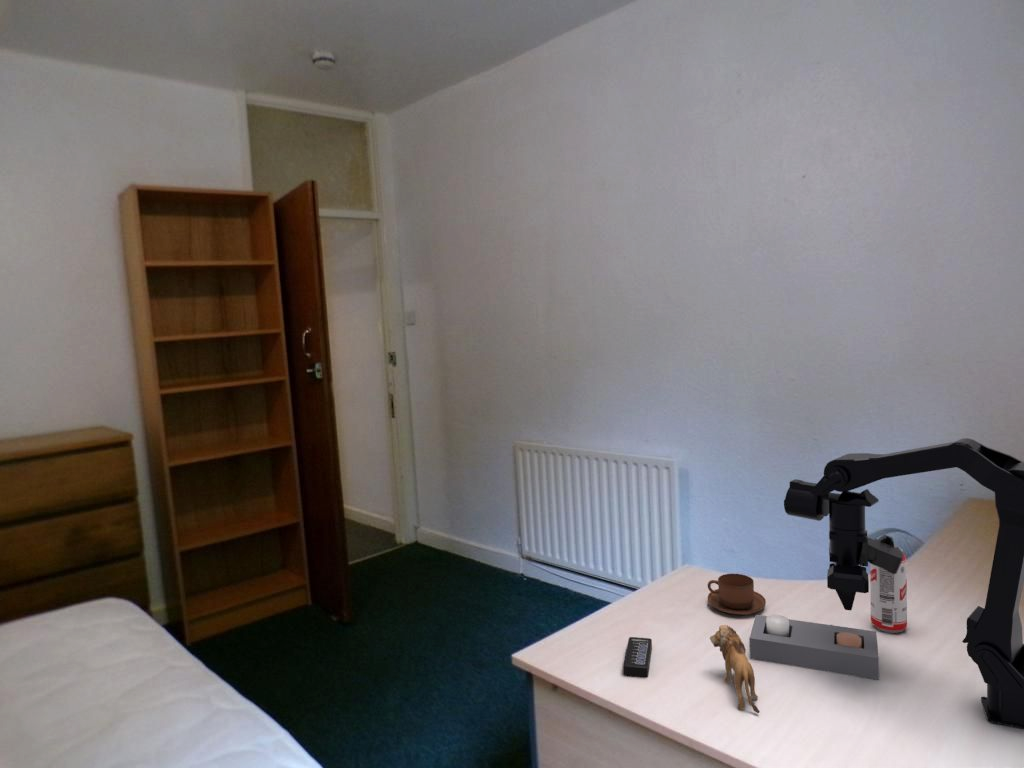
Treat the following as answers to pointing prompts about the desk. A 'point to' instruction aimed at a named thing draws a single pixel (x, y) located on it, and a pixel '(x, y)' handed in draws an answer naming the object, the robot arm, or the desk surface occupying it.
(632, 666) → the multiport hub
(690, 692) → the desk surface
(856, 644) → the terracotta plug
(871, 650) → the plug block
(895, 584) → the beer can
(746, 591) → the cup and saucer
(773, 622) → the grey piece
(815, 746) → the desk surface
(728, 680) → the lion figurine
